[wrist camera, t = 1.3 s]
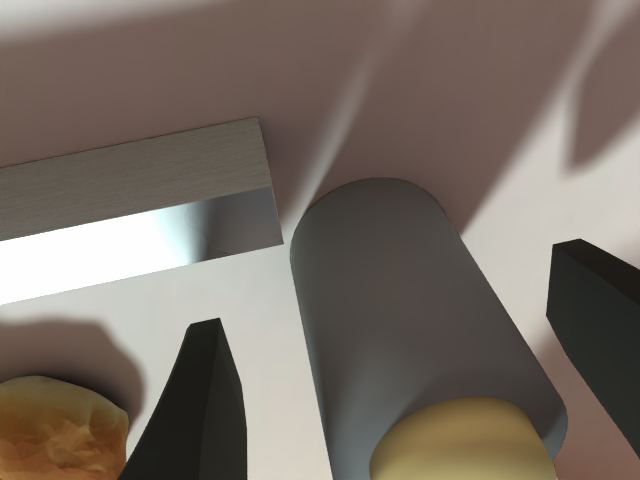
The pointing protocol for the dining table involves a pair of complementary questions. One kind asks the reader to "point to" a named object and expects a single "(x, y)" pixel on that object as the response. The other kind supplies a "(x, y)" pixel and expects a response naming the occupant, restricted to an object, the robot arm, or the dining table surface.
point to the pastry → (59, 432)
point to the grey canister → (415, 346)
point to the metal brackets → (135, 209)
